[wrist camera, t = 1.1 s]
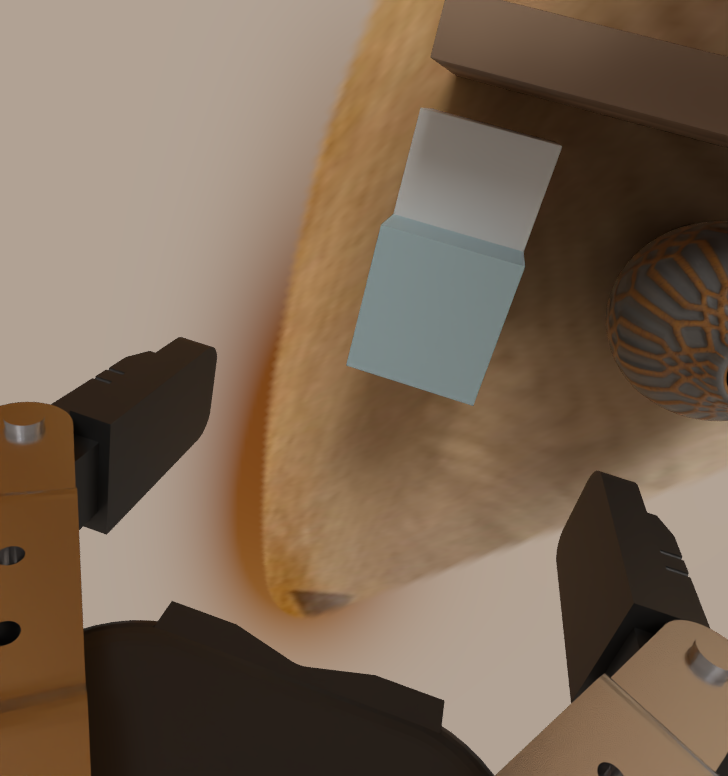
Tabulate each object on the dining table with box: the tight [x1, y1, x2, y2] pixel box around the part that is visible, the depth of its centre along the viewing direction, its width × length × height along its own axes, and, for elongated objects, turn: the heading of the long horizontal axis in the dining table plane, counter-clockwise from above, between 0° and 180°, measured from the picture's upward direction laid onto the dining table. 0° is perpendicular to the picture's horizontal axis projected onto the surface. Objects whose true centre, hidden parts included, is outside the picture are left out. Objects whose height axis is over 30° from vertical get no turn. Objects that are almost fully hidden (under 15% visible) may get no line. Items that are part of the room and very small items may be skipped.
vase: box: [606, 221, 728, 421], centre depth 21 cm, size 7×7×9 cm
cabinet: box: [346, 108, 562, 406], centre depth 22 cm, size 9×5×8 cm, turn 165°
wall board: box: [431, 0, 728, 148], centre depth 18 cm, size 2×17×8 cm, turn 75°
